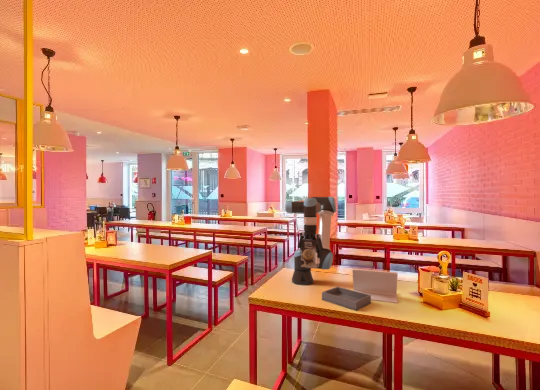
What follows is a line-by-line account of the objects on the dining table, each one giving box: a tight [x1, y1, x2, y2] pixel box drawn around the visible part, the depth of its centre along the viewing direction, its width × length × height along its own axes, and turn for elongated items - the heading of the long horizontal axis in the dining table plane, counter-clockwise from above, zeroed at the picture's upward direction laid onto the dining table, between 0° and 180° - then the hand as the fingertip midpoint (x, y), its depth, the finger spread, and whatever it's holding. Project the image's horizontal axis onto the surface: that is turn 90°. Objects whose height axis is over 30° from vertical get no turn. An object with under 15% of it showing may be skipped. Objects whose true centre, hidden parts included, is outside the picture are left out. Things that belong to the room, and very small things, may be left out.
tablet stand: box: [351, 268, 399, 304], centre depth 170 cm, size 18×25×17 cm
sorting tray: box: [321, 286, 372, 312], centre depth 160 cm, size 22×16×4 cm
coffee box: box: [301, 239, 319, 269], centre depth 164 cm, size 9×6×16 cm
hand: (310, 261), depth 164 cm, fingers closed on coffee box, 10 cm apart
